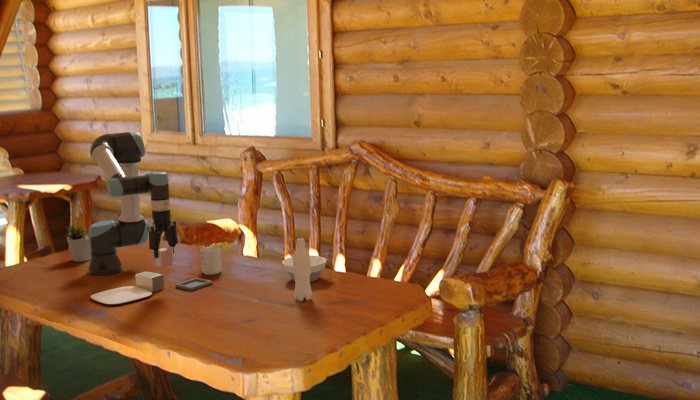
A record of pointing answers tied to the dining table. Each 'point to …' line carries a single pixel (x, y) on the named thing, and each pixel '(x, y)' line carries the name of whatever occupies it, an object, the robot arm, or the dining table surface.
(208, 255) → the mug
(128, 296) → the plate
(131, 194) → the robot arm
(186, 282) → the stub tray
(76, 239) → the potted plant
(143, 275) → the grey-panelled beige block
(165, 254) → the stub
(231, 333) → the dining table surface
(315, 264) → the bowl
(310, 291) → the water bottle
